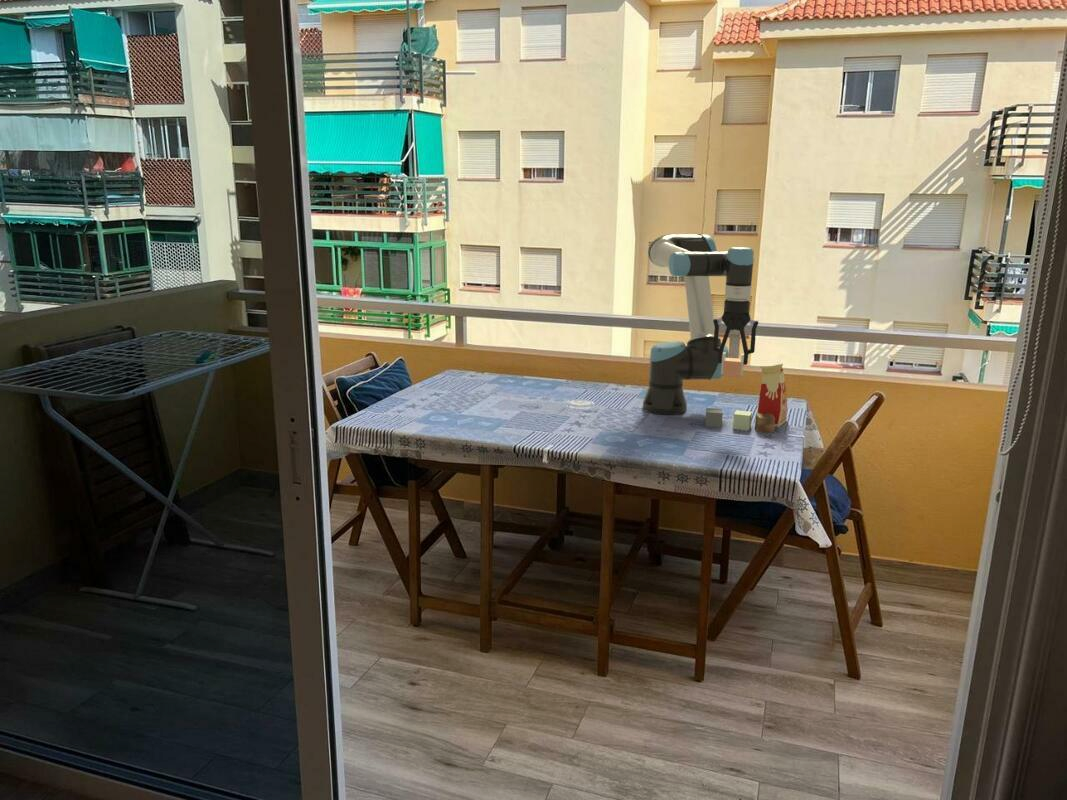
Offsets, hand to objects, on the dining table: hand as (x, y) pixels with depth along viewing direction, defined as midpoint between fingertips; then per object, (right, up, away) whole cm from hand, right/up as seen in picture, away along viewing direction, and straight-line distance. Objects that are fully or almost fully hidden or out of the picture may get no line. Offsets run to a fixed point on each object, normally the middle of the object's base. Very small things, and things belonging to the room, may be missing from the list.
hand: (731, 373), depth 241 cm
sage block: (+6, -17, +9) cm, 20 cm away
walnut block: (+12, -18, +6) cm, 22 cm away
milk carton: (+16, -16, +16) cm, 28 cm away
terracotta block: (0, -1, 0) cm, 0 cm away
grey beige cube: (-3, -16, +12) cm, 20 cm away
